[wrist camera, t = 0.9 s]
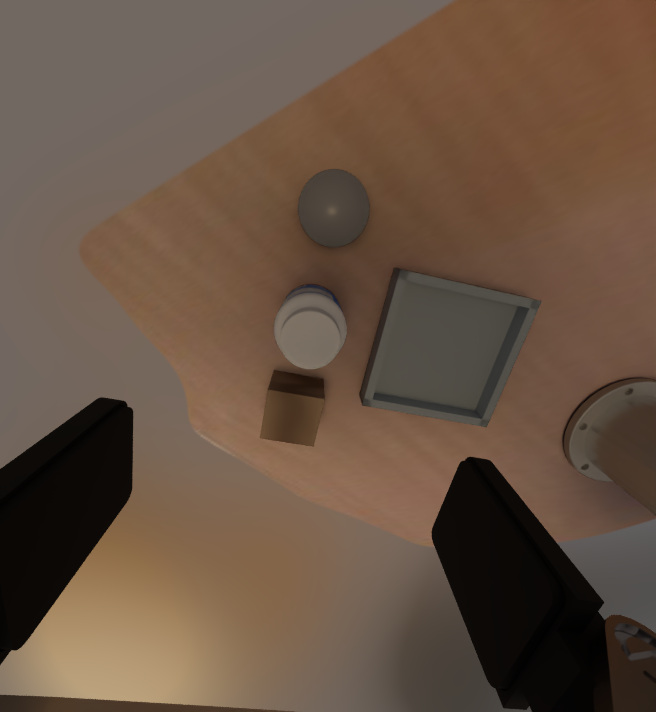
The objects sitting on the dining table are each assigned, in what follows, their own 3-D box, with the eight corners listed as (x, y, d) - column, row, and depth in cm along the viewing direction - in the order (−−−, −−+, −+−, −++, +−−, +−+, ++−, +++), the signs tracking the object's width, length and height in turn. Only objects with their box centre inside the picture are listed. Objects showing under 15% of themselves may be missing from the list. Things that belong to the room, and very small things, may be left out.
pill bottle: (334, 344, 31) (342, 387, 22) (279, 335, 30) (263, 375, 21) (345, 287, 29) (359, 308, 20) (286, 277, 29) (273, 294, 19)
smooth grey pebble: (366, 190, 27) (377, 179, 22) (352, 251, 28) (359, 253, 23) (307, 175, 26) (305, 160, 21) (296, 239, 28) (292, 238, 23)
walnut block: (323, 378, 32) (324, 399, 28) (313, 421, 34) (313, 446, 30) (274, 369, 32) (267, 389, 28) (266, 413, 33) (259, 438, 29)
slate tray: (525, 297, 30) (541, 301, 28) (476, 415, 34) (486, 427, 32) (394, 267, 29) (400, 269, 27) (359, 395, 33) (362, 405, 31)
